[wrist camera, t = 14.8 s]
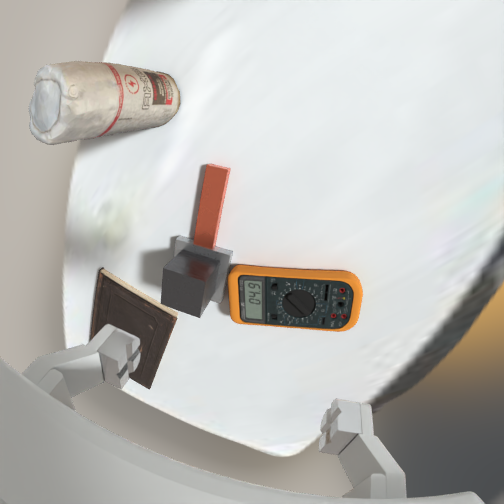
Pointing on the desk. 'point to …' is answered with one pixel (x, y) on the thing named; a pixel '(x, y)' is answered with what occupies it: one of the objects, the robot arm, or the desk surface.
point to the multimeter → (294, 298)
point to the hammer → (210, 226)
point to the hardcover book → (134, 321)
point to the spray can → (98, 100)
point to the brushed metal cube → (189, 282)
